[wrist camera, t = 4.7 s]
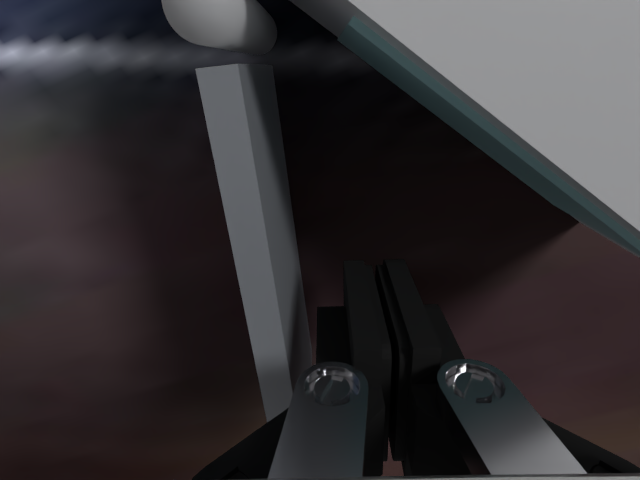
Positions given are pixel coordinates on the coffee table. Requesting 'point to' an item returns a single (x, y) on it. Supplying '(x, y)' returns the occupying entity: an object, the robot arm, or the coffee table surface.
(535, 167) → the camera body
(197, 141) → the coffee table surface
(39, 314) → the coffee table surface
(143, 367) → the coffee table surface
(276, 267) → the side door
